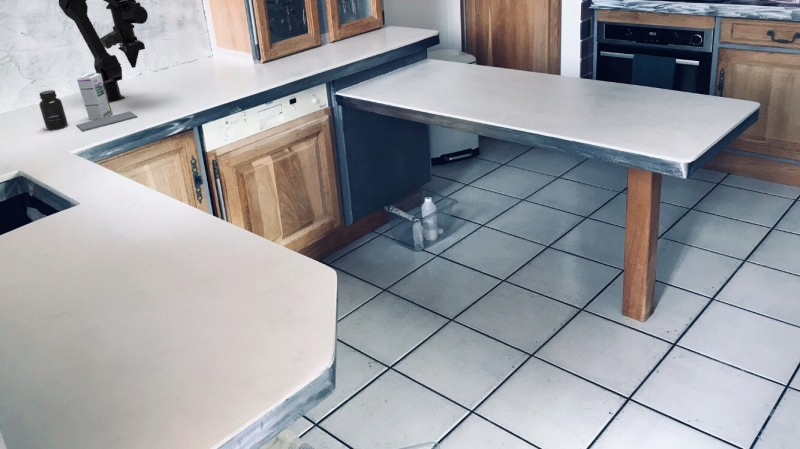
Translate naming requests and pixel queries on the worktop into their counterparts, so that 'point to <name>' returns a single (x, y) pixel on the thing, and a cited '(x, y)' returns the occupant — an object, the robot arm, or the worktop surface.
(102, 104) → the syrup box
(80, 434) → the worktop surface
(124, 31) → the robot arm
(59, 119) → the supplement bottle
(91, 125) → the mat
